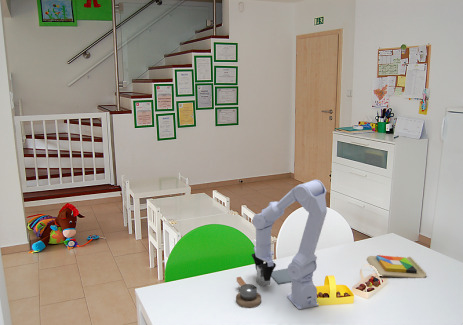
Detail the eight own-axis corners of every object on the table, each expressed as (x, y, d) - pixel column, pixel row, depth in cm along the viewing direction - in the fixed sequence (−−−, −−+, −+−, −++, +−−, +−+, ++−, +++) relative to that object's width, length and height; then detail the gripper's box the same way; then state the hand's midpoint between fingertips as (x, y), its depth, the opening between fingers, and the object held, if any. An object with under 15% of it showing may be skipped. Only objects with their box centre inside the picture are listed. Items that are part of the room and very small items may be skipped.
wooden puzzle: (427, 279, 163) (427, 270, 162) (378, 279, 164) (379, 271, 163) (409, 259, 180) (410, 252, 179) (365, 260, 181) (366, 252, 180)
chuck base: (265, 304, 146) (265, 301, 145) (241, 309, 143) (240, 305, 143) (255, 292, 154) (255, 288, 154) (232, 296, 151) (232, 293, 151)
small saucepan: (259, 298, 146) (259, 290, 146) (243, 302, 144) (243, 293, 144) (246, 281, 159) (245, 273, 158) (231, 284, 157) (231, 276, 156)
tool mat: (301, 280, 163) (301, 278, 163) (278, 284, 160) (278, 283, 160) (290, 269, 172) (290, 267, 172) (268, 273, 169) (268, 271, 169)
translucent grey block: (270, 284, 160) (270, 268, 158) (260, 286, 158) (260, 269, 157) (266, 280, 163) (266, 263, 162) (256, 281, 162) (256, 265, 161)
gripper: (281, 248, 152) (280, 282, 155) (265, 234, 165) (265, 266, 168) (263, 251, 150) (263, 286, 153) (249, 237, 163) (249, 268, 166)
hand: (263, 275), depth 160 cm, fingers open, 7 cm apart
